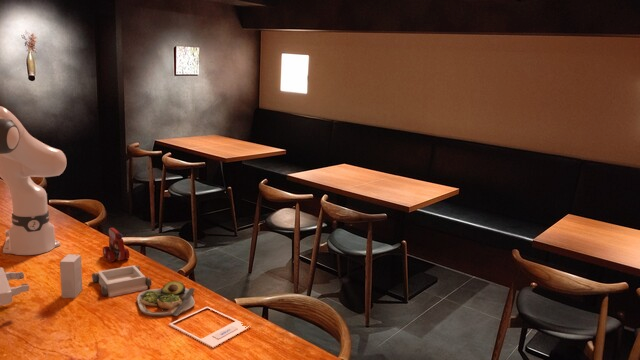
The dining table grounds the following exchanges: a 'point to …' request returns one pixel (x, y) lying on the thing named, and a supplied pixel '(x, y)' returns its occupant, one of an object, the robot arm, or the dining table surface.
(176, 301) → the avocado toast plate
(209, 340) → the photo frame
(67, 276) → the skincare box
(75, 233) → the dining table surface
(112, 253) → the toy fire truck
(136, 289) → the chassis
